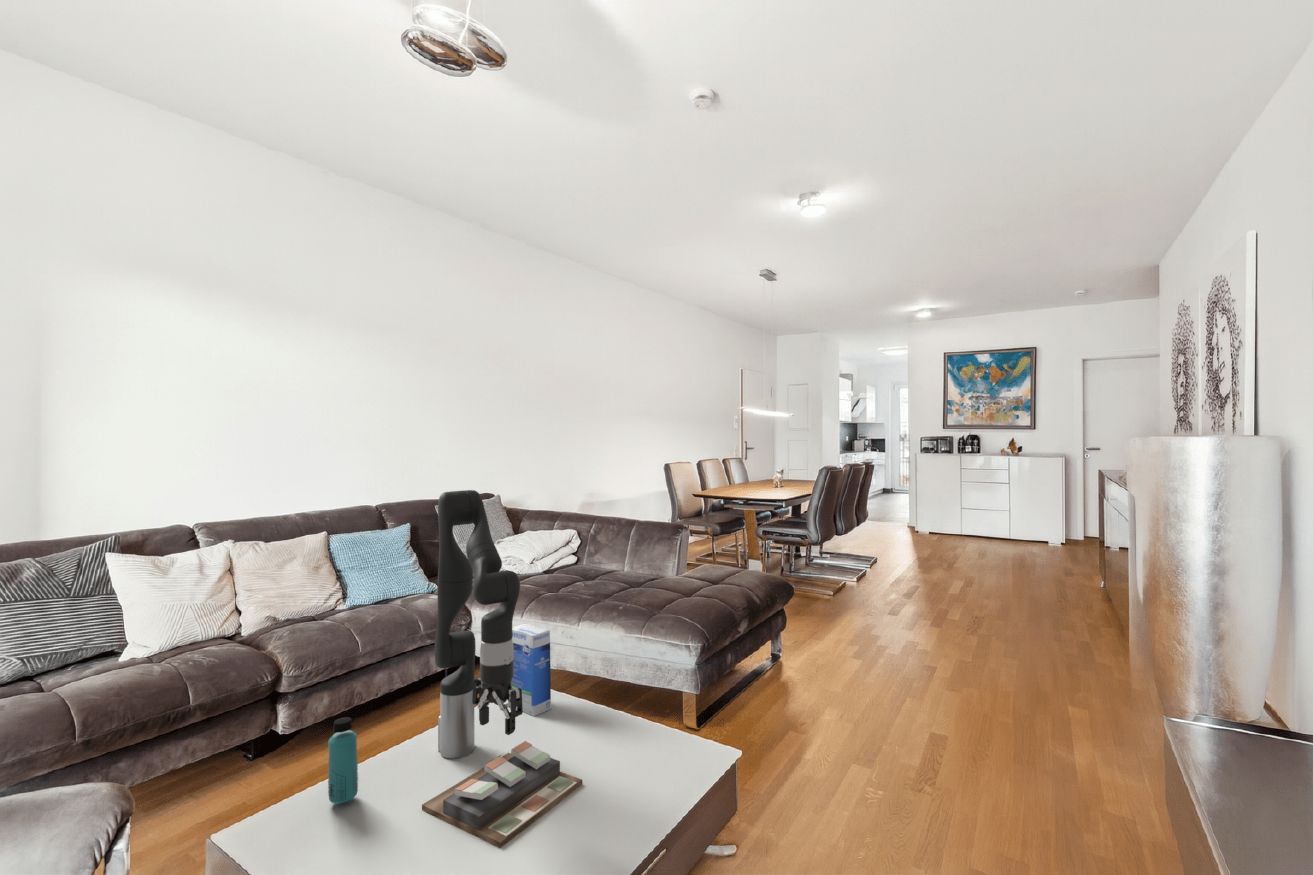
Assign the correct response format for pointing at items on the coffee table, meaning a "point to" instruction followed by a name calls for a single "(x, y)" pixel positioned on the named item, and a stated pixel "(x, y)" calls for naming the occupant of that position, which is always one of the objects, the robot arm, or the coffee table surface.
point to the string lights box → (532, 667)
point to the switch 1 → (476, 789)
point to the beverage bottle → (342, 762)
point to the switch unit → (505, 801)
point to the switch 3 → (530, 755)
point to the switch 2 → (505, 771)
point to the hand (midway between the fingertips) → (497, 728)
